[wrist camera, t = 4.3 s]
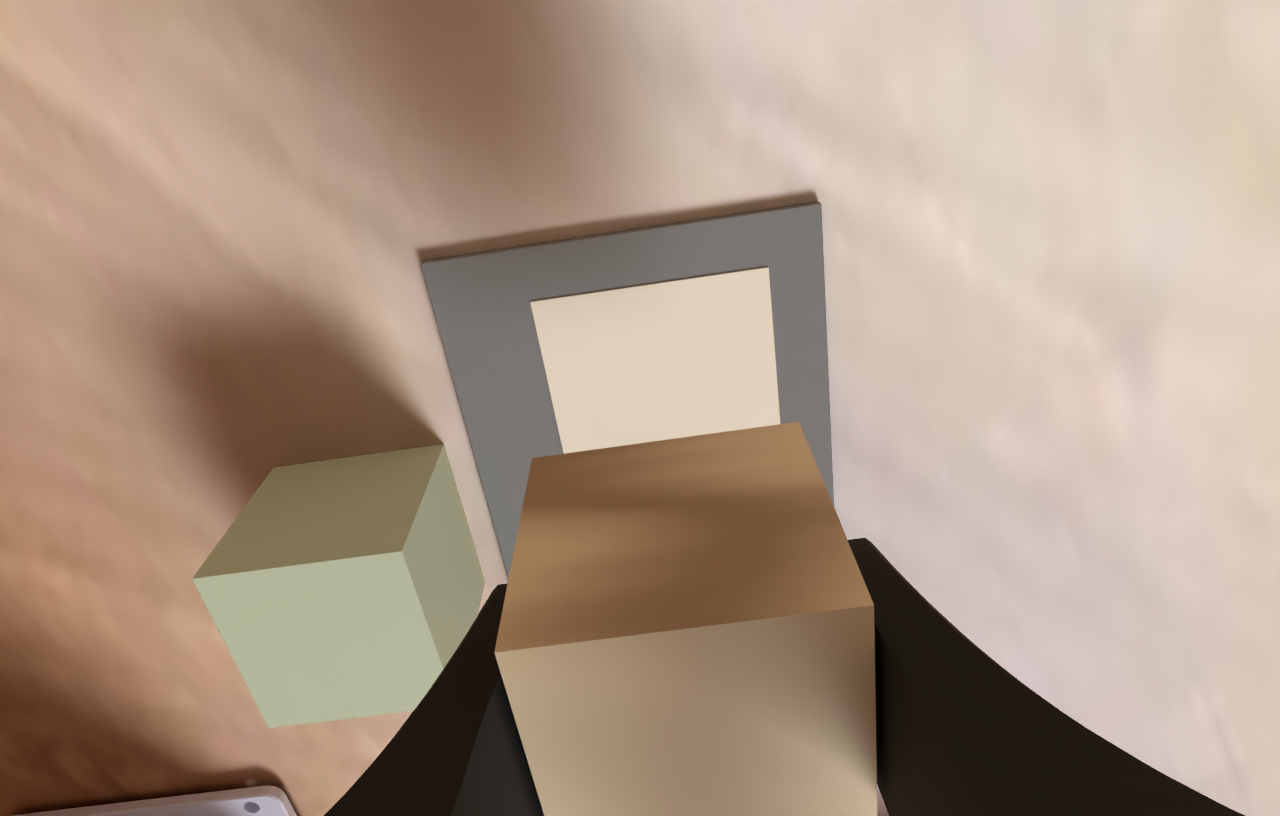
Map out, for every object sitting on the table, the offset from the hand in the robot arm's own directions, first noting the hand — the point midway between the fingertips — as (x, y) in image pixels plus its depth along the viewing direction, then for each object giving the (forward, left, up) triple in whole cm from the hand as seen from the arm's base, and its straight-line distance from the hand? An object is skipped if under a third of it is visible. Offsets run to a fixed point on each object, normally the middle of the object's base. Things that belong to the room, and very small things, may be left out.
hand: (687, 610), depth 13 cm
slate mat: (-1, -1, -8) cm, 8 cm away
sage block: (-8, -3, -8) cm, 12 cm away
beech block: (0, 0, -2) cm, 2 cm away
